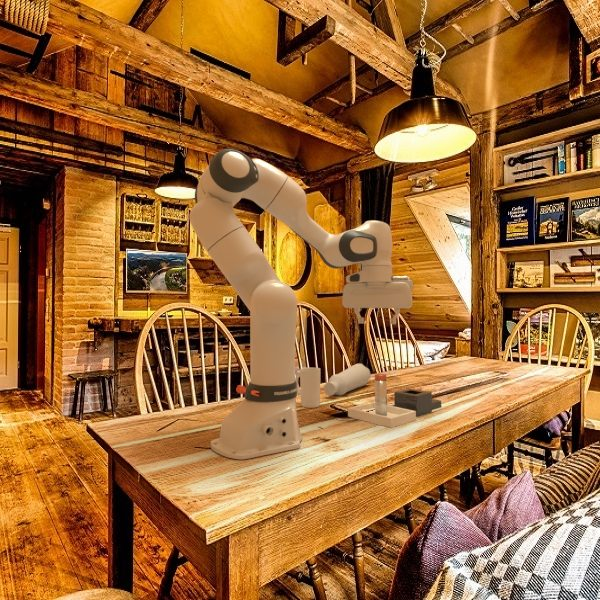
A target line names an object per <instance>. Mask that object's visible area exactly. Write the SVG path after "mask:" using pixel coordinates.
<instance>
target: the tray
mask: <svg viewBox="0 0 600 600" xmlns="http://www.w3.org/2000/svg"><path fill="white" fill-rule="evenodd" d="M370 408H375V401H372V402H368V403H364V404H363V403H362V404H358V405H355V406H352V407H347V417H349V418H352V419H356V420H360V421H363V422H366V423H371V424H374V425H379V426H383V427H385V428H389V429H393V428H396V427H399V426H402V425H404V424H408V423H411V422H415V421H417V417H416V411H413V410H408V409H403V408H399V407H395V405H390V404H387V417H386V416H382V415H378V414H375V410H373V411H369V412H366V411H361V409H370Z"/></svg>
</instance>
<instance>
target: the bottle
mask: <svg viewBox="0 0 600 600" xmlns="http://www.w3.org/2000/svg"><path fill="white" fill-rule="evenodd" d="M370 379H371V371H370V369H369V368H368V367H367V366H365V365H364V364H363V363H356V364H354V365H351V366H349V367H348V368H346V369H344V370H342V371H341V372H339V373H336V374H332V375H331V377H330V378H329V379H328V382H326V383H325V385H324V386H323V391H324V393H325V394H326V395H327V396H330V397H331V396H333V395H335V396H340V397H342V396H344V395H345V394H346V393H347V392H351V391H352V390H355V389H359V388H363V386H365V385H367V383H368V382H369V380H370Z"/></svg>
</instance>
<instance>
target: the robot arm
mask: <svg viewBox="0 0 600 600" xmlns="http://www.w3.org/2000/svg"><path fill="white" fill-rule="evenodd" d="M306 194H307V193H306V191H304V189H303V188H302V187H301V186H300V185H299V183H298V182H296V181H295V180H294V179H293V178H291V177H290V176H288V174H286V173H284V172H283V171H282V170H281V169H279V168H278V167H276V166H274V165H272V164H270V163H268V162H266V161H265V160H262V159H260V158H257V157H256V158H251V157H250V156H248V155H246V154H245V153H243V152H241V151H239V150H237V149H232V148H224V149H222V150H219V152H217V153H216V154H215V155H213V157H212V158H211V159H210V161H209V164H208V165H207V167H206V168H205V170H204V171H202V173H201V176H200V178H199V181H198V184H197V186H195V190H194V202H195V204H194V206H193V207H192V208H191V210H190V212H189V214H188V215H189V222H190V224H191V226H192V228H193V231H194V233H195V235H196V237H197V239H198V240H199V242H200V243H201V245H202V246H203V248H204V250H205V252H207V254H208V255H209V256H210V258H211V259H212V260H213V262H214V263H215V265H216V267H218V270H219V271H221V273H222V275H223V276H224V278H225V279H226V281H228V283H229V285H231V287H232V288H233V289H234V291H235V293H236V294H237V295H238V296H239V298H240V299H241V301H242V302H243V303H244V305H245V306H246V308H247V310H248V311H250V312H249V315H250V316H249V319H250V320H249V322H250V324H249V327H250V329H249V332H250V333H249V334H250V335H249V337H250V339H249V341H250V342H249V344H250V347H249V348H250V349H249V354H250V355H249V356H250V357H249V359H250V362H249V363H250V364H249V366H250V367H249V369H250V371H249V372H250V379H249V380H250V381H249V382H248V385H247V386H245V385H242V384H239V385H237V387H236V389H235V391H236V392H237V394H240V395H244V396H243V400H242V401H240V403H238V405H237V406H236V407H235V408H233V409H232V410H231V411H230V412H229V413H228V414H227V415H226V416H225V417H223V419H222V423H221V427H220V433H219V437H217V438H214V439H212V440H211V441H210V445H209V446H210V449H211V450H212V451H214V452H215V453H217V454H218V455H221V456H223V457H226V458H229V459H232V460H233V459H235V460H240V461H241V460H247V459H252V458H258V457H263V456H267V455H271V454H272V455H273V454H277V453H278V454H279V453H282V452H286V451H293V450H296V449H300V448H301V441H302V440H303V436H302V433H301V429H300V425H299V419H298V411H297V402H296V401H297V396H298V394H297V382H296V381H295V378H296V367H295V366H296V339H297V338H296V336H297V325H298V324H297V321H298V320H297V319H298V299H297V295H296V293H295V291H294V290H293V289H292V287H291V286H290V285H289V284H288V283H286V282H283V281H281V279H280V278H279V277H278V274H276V272H275V270H274V268H273V267H272V265H271V264H270V263H269V261H268V259H267V257H266V255H265V254H264V252H263V251H262V249H261V248H260V246H259V245H258V244H257V243H256V241H255V240H254V238H253V237H252V235H251V233H249V231H248V230H247V229H246V226H244V224H243V223H242V221H241V220H240V219H239V217H238V216H237V215H236V213H235V210H234V206H236V205H237V203H239V202H240V201H241V199H247V200H250V201H252V202H254V203H255V204H256V205H257V206H259V207H260V208H261V209H263V210H264V211H265V212H266V213H268V214H269V215H271V217H274V218H275V219H277V220H278V221H280V222H281V223H282V224H284V225H285V226H286V227H288V228H289V229H290V230H291V231H292V232H293V233H294V234H296V235H297V236H298V237H299V238H300V239H302V240H303V241H305V243H307V244H308V245H309V246H310V247H312V249H314V250H315V252H317V254H318V255H319V257H320V259H321V260H322V261H323V263H324V264H325V265H326V266H327V267H329V268H331V269H333V270H334V269H337V270H338V269H342V268H345V267H347V266H352V265H355V264H358V263H360V264H361V270H359V271H357V272H354V273H351V274H348V275H347V276H346V277H345V281H346V283H347V284H345V285H344V287H343V291H342V300H341V301H342V306H343V307H344V308H345V309H353V311H354V312H353V313H354V314H355V316H356V318H357V323H358V324H359V325H360V324H364V323H365V317H364V316H363V317H362V316H361V314H360V312H361V309H393V312H394V315H393V317H390V318H389V321H390V322H389V325H396V324H397V318H398V316H399V314H400V313H401V309H411V307H412V306H413V294H412V291H413V290H414V281H413V279H412V278H410V277H409V276H406V275H404V276H397V275H396V276H393V264H392V253H393V239H392V238H393V237H392V231H391V228H390V225H389V224H388V223H386V222H384V221H381V220H374V219H373V220H372V219H371V220H366V221H365V222H364V223H363V224H361V225H359V226H357V227H356V228H355V227H354V228H352V229H349V230H345V231H343V232H341V233H338V234H333V233H330V232H328V231H326V230H325V229H324V228H323V227H322V226H321V225H319V224H318V222H316V221H315V220H314V219H313V218H311V217H310V215H309V213H308V210H307V204H308V203H307V202H308V200H307V195H306Z"/></svg>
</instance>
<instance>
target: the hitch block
mask: <svg viewBox="0 0 600 600" xmlns="http://www.w3.org/2000/svg"><path fill="white" fill-rule="evenodd" d="M432 394H433V392H431V391H425V390H421V389H420V390H419V389H414V388H406V389H401V390H398V391H394V396H393V397H394V398H393V399H394V403H393V404H394V405H393V406H394V407H399V408H403V409H408V410H413V411H416V418H417V417H419V416H420V417H421V416H424V415H426V414H430V413H432V412H433V410H435V409H439V408H441V407H442V400H440V399H435V398H433V395H432Z"/></svg>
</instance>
